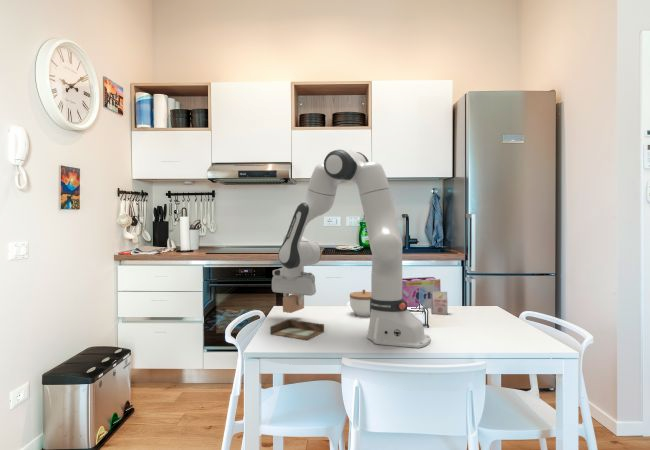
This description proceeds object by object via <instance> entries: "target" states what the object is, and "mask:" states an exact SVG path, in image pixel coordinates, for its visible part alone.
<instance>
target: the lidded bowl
mask: <svg viewBox="0 0 650 450" xmlns="http://www.w3.org/2000/svg"><path fill="white" fill-rule="evenodd" d="M370 298H371V291H366V289H362V291H354V292H350V293H349V303H350V305H349V306H350V307H351V308H350V309H352V312H353V313H355V315H356V316H358V317H370V316H371V313H370Z"/></svg>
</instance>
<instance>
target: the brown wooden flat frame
mask: <svg viewBox="0 0 650 450" xmlns="http://www.w3.org/2000/svg"><path fill="white" fill-rule="evenodd" d="M324 332H325V324H323V323H316V322H309V321H303V320H298V319H286V320H284V321H281V322H278V323H275V324H273V325H271V326H270V335H272V336H273V335H274V336H277V337H278V336H279V337H283V338H284V337H285V338H291V339H297V340H302V341H309V340H311V339H313V338H315V337H318V336H319V335H321V334H324Z"/></svg>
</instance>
